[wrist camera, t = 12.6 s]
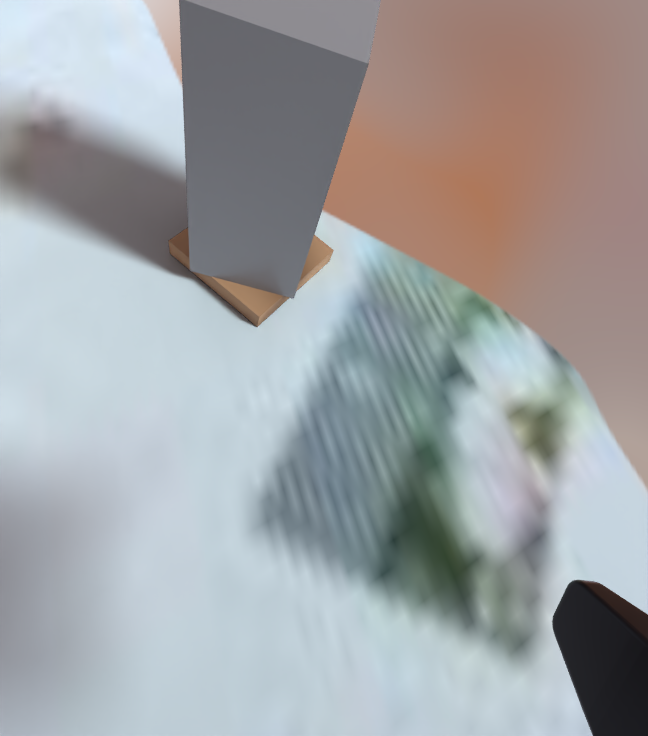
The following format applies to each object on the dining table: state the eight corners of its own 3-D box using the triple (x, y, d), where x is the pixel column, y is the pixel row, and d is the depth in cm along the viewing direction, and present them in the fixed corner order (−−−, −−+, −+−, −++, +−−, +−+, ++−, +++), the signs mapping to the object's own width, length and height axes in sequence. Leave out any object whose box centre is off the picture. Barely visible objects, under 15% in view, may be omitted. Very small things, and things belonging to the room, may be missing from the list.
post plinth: (257, 327, 24) (271, 259, 19) (169, 253, 24) (161, 169, 19) (329, 261, 26) (357, 188, 21) (249, 196, 27) (259, 110, 22)
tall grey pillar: (293, 298, 24) (368, 63, 13) (189, 270, 23) (179, -2, 12) (311, 221, 26) (386, -32, 15) (217, 194, 25) (228, -91, 15)
